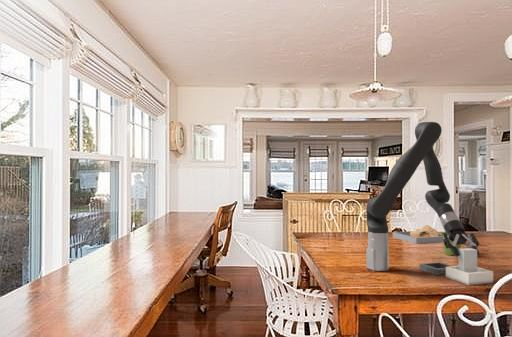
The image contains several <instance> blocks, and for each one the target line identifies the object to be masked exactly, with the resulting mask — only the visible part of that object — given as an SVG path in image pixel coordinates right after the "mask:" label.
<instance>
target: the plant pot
mask: <svg viewBox="0 0 512 337" xmlns="http://www.w3.org/2000/svg"><path fill="white" fill-rule="evenodd" d="M439 234H440V235H441V238H442V236H443V235H444V234H446V232H445V231H444V232H439ZM442 241H443V240H442ZM449 241H450V244H451V243H452V241H451V240H450V239H449ZM442 246H443V252H444V255H446V256H454V257H456V256H455V255H454V254H453V252H452V250H451V249H450V248H446V247H445V245H444V242H442ZM455 247H457V249H461V248H462V245H461V244H460V245H457V244H456V245H455Z"/></svg>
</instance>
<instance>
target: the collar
mask: <svg viewBox="0 0 512 337" xmlns="http://www.w3.org/2000/svg"><path fill="white" fill-rule="evenodd" d="M449 266H451V265H450V264H446V263H443V262H440V261H437V262H436V261H435V262H425V263H424V262H423V263H419V270H421V271H424V272H426V273H430V274H432V275H434V276H435V275H436V276H440V275H441V276H442V275H446V267H449Z"/></svg>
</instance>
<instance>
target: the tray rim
mask: <svg viewBox="0 0 512 337" xmlns="http://www.w3.org/2000/svg"><path fill="white" fill-rule="evenodd" d="M412 231H413V230H412ZM412 231H410V230H409V231H396V232H392V238H393V239H397V240H400V241H404V242H407V243H412V244H416V245H418V244H431V243H432V244H433V243H443V241H442V238H441V235H440V233H438V235H439V236H435V237H420V238H416V237H412V236H410V233H411V232H412Z"/></svg>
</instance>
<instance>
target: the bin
mask: <svg viewBox="0 0 512 337" xmlns="http://www.w3.org/2000/svg"><path fill="white" fill-rule="evenodd" d="M445 278H447V279H450V280H452V281H455V282H459V283H462V284H464V285H467V286H473V285H482V284H491V283H494V271H493V270H489V269H486V268H482V267H479V266H477V272H473V273H467V272H464V271H461V270H458V265H450V266H449V267H446V274H445Z"/></svg>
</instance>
